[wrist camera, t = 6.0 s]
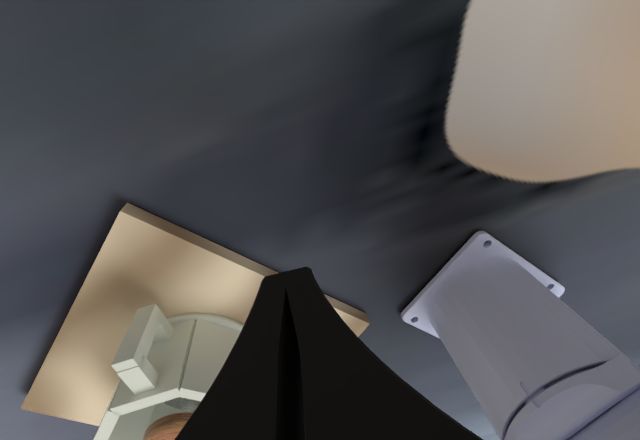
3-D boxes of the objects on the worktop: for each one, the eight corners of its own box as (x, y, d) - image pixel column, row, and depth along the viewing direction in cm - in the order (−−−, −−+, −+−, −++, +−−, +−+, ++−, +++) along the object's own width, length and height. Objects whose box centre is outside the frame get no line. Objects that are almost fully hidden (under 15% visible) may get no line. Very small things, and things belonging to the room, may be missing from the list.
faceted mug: (285, 386, 24) (290, 463, 20) (165, 423, 24) (144, 509, 20) (227, 270, 19) (217, 338, 15) (75, 317, 19) (19, 400, 15)
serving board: (365, 313, 23) (369, 323, 23) (247, 446, 28) (247, 458, 27) (127, 202, 17) (120, 210, 17) (29, 394, 22) (20, 408, 21)
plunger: (256, 386, 23) (254, 480, 18) (175, 411, 23) (151, 512, 18) (223, 328, 20) (210, 420, 15) (131, 356, 20) (89, 458, 15)
